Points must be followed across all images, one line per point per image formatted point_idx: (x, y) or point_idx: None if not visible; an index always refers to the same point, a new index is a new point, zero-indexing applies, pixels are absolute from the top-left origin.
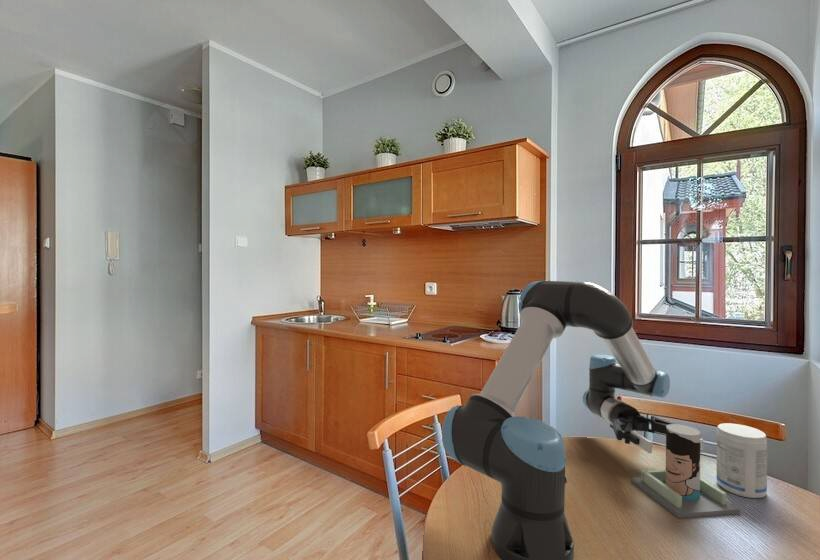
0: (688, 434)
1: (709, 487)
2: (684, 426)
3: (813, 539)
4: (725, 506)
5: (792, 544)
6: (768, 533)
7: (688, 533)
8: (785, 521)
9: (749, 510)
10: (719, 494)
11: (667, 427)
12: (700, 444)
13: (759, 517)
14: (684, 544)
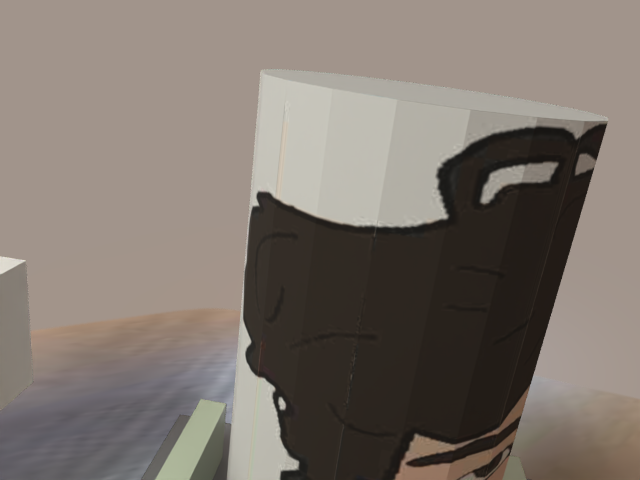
0: (465, 90)
1: (196, 475)
2: (327, 83)
3: (129, 317)
4: (226, 443)
5: (225, 326)
6: (232, 359)
7: (542, 434)
8: (70, 365)
9: (100, 434)
10: (220, 428)
11: (591, 119)
12: (24, 316)
13: (132, 400)
14: (593, 411)
